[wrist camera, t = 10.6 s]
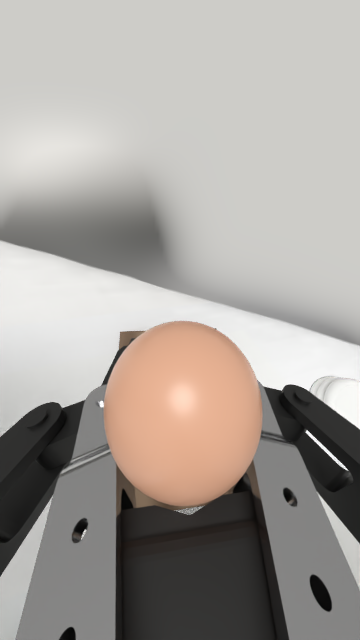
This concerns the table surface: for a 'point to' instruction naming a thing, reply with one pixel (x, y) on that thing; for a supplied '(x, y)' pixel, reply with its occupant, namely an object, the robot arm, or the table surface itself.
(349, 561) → the foam cup
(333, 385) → the coaster
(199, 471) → the orange-capped post
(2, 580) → the table surface
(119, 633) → the robot arm
